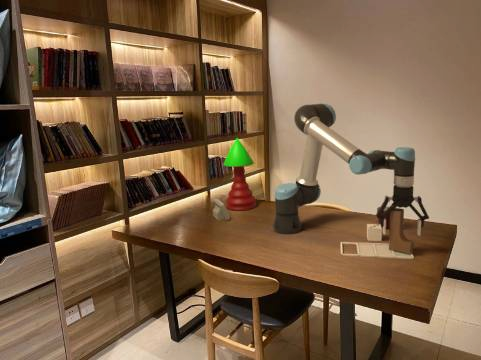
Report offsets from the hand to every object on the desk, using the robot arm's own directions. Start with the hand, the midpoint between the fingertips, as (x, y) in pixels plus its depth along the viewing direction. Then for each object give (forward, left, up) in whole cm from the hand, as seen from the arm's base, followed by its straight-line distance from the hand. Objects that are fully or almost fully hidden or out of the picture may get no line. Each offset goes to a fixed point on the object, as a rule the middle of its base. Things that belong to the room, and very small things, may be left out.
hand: (401, 234), depth 154 cm
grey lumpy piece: (-92, +39, -8) cm, 101 cm away
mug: (-1, +29, -8) cm, 31 cm away
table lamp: (-86, +62, -8) cm, 107 cm away
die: (-9, +14, -8) cm, 19 cm away
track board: (-10, 0, -8) cm, 13 cm away
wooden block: (0, 0, -8) cm, 8 cm away
